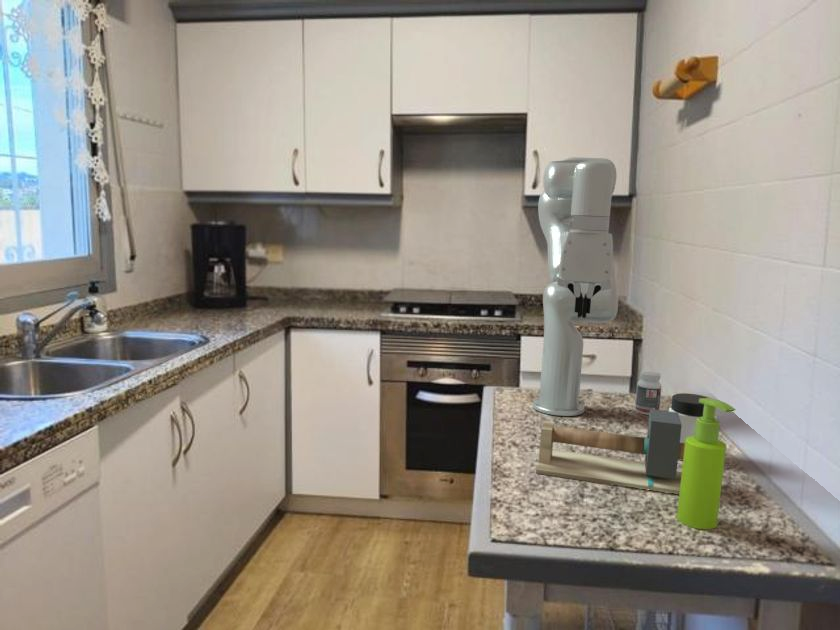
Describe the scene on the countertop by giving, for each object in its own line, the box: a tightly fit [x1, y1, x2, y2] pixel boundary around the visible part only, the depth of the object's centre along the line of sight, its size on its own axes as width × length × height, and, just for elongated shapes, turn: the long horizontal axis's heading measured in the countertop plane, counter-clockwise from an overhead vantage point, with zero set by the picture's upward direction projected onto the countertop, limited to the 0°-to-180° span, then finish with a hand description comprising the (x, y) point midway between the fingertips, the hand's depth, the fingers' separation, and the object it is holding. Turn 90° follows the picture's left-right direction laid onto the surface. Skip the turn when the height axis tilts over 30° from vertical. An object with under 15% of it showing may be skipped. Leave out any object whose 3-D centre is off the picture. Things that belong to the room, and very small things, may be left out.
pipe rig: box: [535, 420, 685, 495], centre depth 123 cm, size 12×30×8 cm, turn 73°
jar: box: [668, 392, 717, 462], centre depth 135 cm, size 9×8×12 cm
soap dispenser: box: [676, 397, 736, 530], centre depth 104 cm, size 6×7×20 cm
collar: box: [644, 409, 682, 479], centre depth 121 cm, size 8×5×10 cm, turn 163°
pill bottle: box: [634, 370, 662, 416], centre depth 164 cm, size 6×6×10 cm
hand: (581, 316), depth 135 cm, fingers closed
